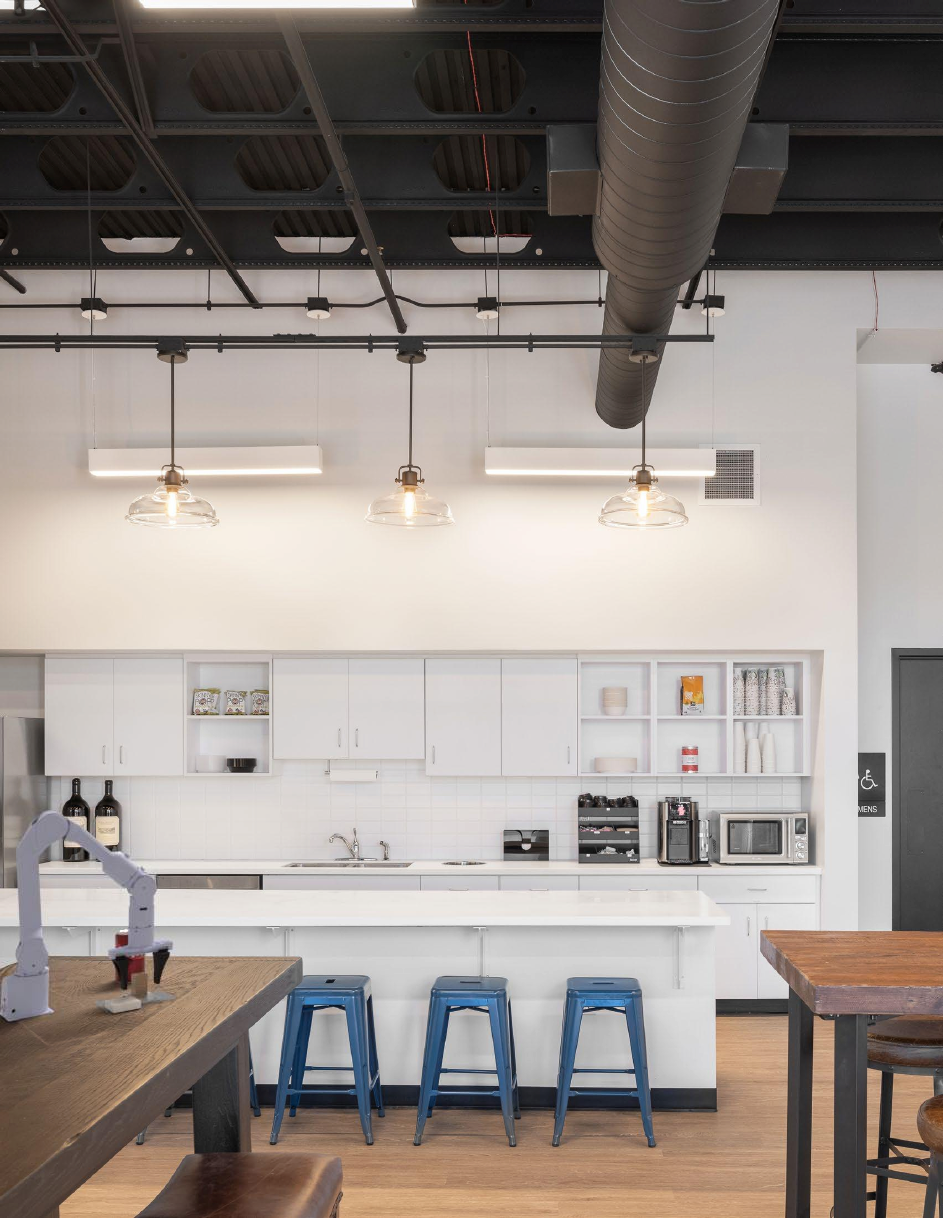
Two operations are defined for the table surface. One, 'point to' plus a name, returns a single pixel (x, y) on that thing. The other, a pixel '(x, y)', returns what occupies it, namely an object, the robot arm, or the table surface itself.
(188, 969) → the table surface
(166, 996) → the mat
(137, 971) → the soda can
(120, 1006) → the tile
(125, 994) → the trowel
